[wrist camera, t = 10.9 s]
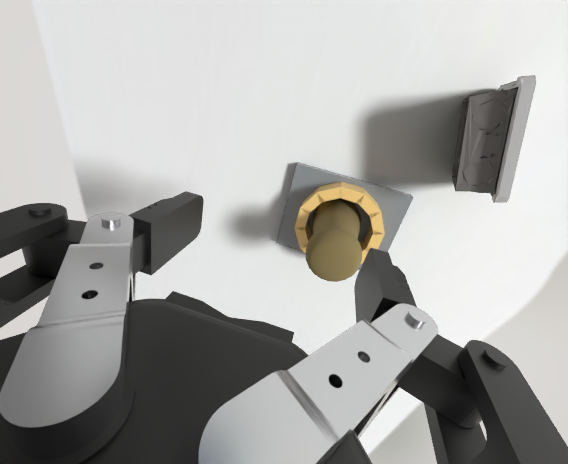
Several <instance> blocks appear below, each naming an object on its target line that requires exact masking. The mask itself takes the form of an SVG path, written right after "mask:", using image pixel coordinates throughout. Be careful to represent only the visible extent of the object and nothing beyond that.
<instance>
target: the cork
mask: <svg viewBox="0 0 568 464" xmlns="http://www.w3.org/2000/svg"><path fill="white" fill-rule="evenodd" d="M360 226H361V216H360V213H359V210H358V209H357V208H356V206H355V205H354V204H353V203H351V202H350V201H348V200H345V199H342V198H338V199H334V200H329V201H324V202H322V203H321V204H320V205H319V206H318V207H317V208H316V210H315V211H314V215H313V236H312V237H311V239H310V240H309V242H308V245H307V248H306V261H307V263H308V266H309V268H310V269H311V270H312V272H313V273H314V274H315V275H317V276H318V277H320V278H321V279H324V280H327V281H336V282H337V281H341V280H345V279H347V278H349V277H351V276H352V275H353V274H354V273H355V272H356V271H357V270H358V268H359V266H360V263H361V261H362V249H361V246H360V243H359V241H358V240H357V239H358V235H359V231H360Z"/></svg>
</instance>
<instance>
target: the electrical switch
mask: <svg viewBox="0 0 568 464" xmlns="http://www.w3.org/2000/svg"><path fill="white" fill-rule="evenodd" d="M535 85H536V77H535V75H533V76H521V77H518V78H517V81H514V82H511V83H508V84H505V85H501V86H500V87H499V89H498V91H493V92H487V93H482V94H476V95H471V96H469V97H467V98H465V99H464V100H465V101H463V104H462V111H461V118H460V125H459V132H458V139H457V146H456V153H455V160H454V167H453V175H454V176H452V178H453V183H454V187H455V191H471V192H478V193H490V194H491V196H492V200H493V202H507V201H508V199H509V197H510V192H511V188H512V184H513V179H514V175H515V171H516V167H517V162H518V158H519V154H520V149H521V145H522V141H523V137H524V132H525V128H526V124H527V119H528V115H529V111H530V107H531V102H532V98H533V94H534V89H535ZM464 122H465V124H464ZM459 161H460V162H459Z"/></svg>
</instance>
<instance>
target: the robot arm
mask: <svg viewBox="0 0 568 464" xmlns="http://www.w3.org/2000/svg"><path fill="white" fill-rule="evenodd" d="M202 211H203V197H202V196H200V195H197V194H193V193H190V192H184V193H181V194H179V195H177V196H175V197H173V198H169V199H163V200H160V201H158V202H156V203H154V205H153V204H152V205H150V206H147V208H146V207H145V208H143V209H141V210H139V211H137V212H135V213H133V214H130V215H125V214H121V213H103V214H98V215H95V216H93V217H91V218H89V219H88V221H87V222H82V221H74V220H68V216H67V210H66V208H65V207H63V206H61V205H57V204H51V203H36V204H29V205H24V206H20V207H17V208H14V209H11V210H8V211H4V212H2V213H0V258H2V257H4V256H6V255H8V254H10V253H12V252H14V251H17V250H19V249H21V248H22V251H23V254H24V258H25V262H26V265H24V266H22V267H20V268H19V269H17V270H15V271H13V272H11V273H9V274H7V275H5V276H3V277H1V278H0V328H1V327H2V326H4V325H5V324H7V323H8V322H10V321H11V320H13V319H14V318H16V317H17V316H19V315H20V314H22V313H23V312H25V311H26V310H28V309H29V308H31V307H32V306H34V305H35V304H37V303H38V302H40V301H41V300H43V299H44V298H46V297H47V296H49V297H48V300H47V302H46V305H45V307H44V310H43V312H42V315H41V317H40V320H39V322H38V324H37V325H36V326H35V327H33V328H31V329H29V330H28V331H27V332H26V333H23V334H19V335H16V336H13V337H9V338H6V339H3V340H0V464H372V463H371V461H370V459H369V457H368V455H367V453H366V452H365V450H364V448H363V446H362V444H361V443H360V441H359V438H360V436H361V435H362V434H363V432H364V431H365V430H366V428H367V427H368V426H369V424H370V423H371V422H372V421H373V419H374V418H375V417H376V416H377V415H378V413H379V412H380V411H381V410H382V409H383V407H384V406H385V405H386V404H387V403H388V401H389V400H390V399H391V398H392V397H393V395H394V394H395V393H396V392H397V391H398V389H399V388H402V389H403V390H405V391H406V392H408V393H409V394H411V395H413V396H414V397H416V398H417V399H419V400H420V401H422V402H423V403H424V405H425V410H426V414H427V419H428V424H429V428H430V433H431V437H432V442H433V446H434V451H435V455H436V460H437V464H568V447H567V445H566V443H565V442H564V440H563V439H562V437H561V435H560V434H559V432H558V431H557V429H556V427H555V426H554V424H553V423H552V421H551V420H550V418H549V416H548V415H547V413H546V412H545V410H544V409H543V407H542V405H541V404H540V402H539V400H538V399H537V397H536V396H535V394H534V393H533V391H532V390H531V388H530V386H529V385H528V383H527V381H526V380H525V378H524V377H523V375H522V373H521V372H520V370H519V369H518V367H517V366H516V365H515V364H514V363H513V361H512V360H510V359H509V358H508V357H507V356H506V355H505V354H504V353H502V352H501V351H499V350H498V349H496V348H495V347H493V346H491V345H489V344H487V343H485V342H482V341H478V340H471V341H469V342H468V343H467V344H466V346H465V347H464V348H462V347H460V346H458V345H456V344H454V343H452V342H451V341H449V340H447V339H445V338H443V337H442V336H440V335H438V334H437V333H438V327H437V325H436V323H435V321H434V320H433V319H432V318H431V317H430V316H429V315H428V314H427V313H425V312H424V311H422V310H421V309H419V308H417V306H416V304H415V301H414V298H413V296H412V293H411V290H410V288H409V285H408V284H407V280H406V277H405V275H404V273H403V272H402V271H401V270H400V269H399V268H398V267H397V266H394V265H392V262H391V259H390V256H389V253H388V252H385V251H381V250H378V249H375V248H370V249H369V251H368V253H367V255H366V258H365V260H364V262H363V264H362V267H361V269H360V271H359V273H358V276H357V279H356V282H355V305H356V322H357V324H355V325H354V326H352V327H351V328H349V329H348V330H346V331H345V332H343V333H342V334H340V335H339V336H337V337H336V338H334V339H333V340H331V341H330V342H329V343H327V344H326V345H324V346H323V347H321V348H320V349H318V350H317V351H315V352H314V353H312V354H311V355H307V354H306V353H305V352H304V351H303V350H302V349H301V348H299V347H298V346H297V345H295V344H293V343H292V339H293V335H294V332H292V331H289V330H286V329H283V328H280V327H277V326H274V325H271V324H268V323H265V322H260V321H253V320H245V319H237V318H230V317H227V316H225V315H224V314H222V313H221V312H219V311H217V310H216V309H214V308H212V307H211V306H209V305H207V304H206V303H204V302H203V301H200V300H197V299H194V298H192V297H189V296H186V295H183V294H180V293H177V292H174V291H173V292H172V293H171V294H170V295H169V296H168V297H167V298H166V299H143V300H136V301H135V288H136V273H137V272H138V271H140V272H143V273H146V274H149V275H152V274H153V273H155V272H156V271H157V270H158V269H159V268H161V267H162V266H163V265H164V264H165V263H167V262H168V261H169V260H170V259H171V258H173V257H174V256H175V255H176V254H177V253H179V252H180V251H181V250H182V249H183V248H185V247H186V246H187V245H188V244H189V243H191V242H192V241H193V240H194V239H195V238H196V237H197V236H198V234H199V232H200V229H201V222H202ZM481 420H482V421H483V423H484V426H485V428H486V434H487V442H486V440H485V437H484V434H483V432H482V429H481V427H480V424H479V422H480V421H481Z"/></svg>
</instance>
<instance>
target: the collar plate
mask: <svg viewBox="0 0 568 464" xmlns="http://www.w3.org/2000/svg"><path fill="white" fill-rule="evenodd" d="M338 198H342V199H345V200H348V201H350V202H351V203H353V204H354V205H355V206H356V208H357V209H358V210H359V213H360V216H361V226H360V231H359V235H358V239H357V240H358V241H359V243H360V246H361V249H362V261H361V263H360V266H359V268H358V269H359V270H360V269H361V267H362V264H363V262H364V260H365V258H366V255H367V253H368V251H369V249H370V248H375V249H378V250H381V251H385V252H388V250H389V248H390V246H391V243H392V241H393V239H394V237H395V235H396V233H397V231H398V229H399V227H400V224H401V222H402V220H403V218H404V216H405V214H406V212H407V210H408V208H409V206H410V203H411V201H412V199H413V196H412V195H410V194H406V193H403V192H400V191H396V190H393V189H389V188H386V187H382V186H379V185H375V184H372V183H368V182H365V181H361V180H358V179H354V178H351V177H347V176H344V175H341V174H337V173H334V172H330V171H327V170H323V169H320V168H316V167H313V166H309V165H306V164H302V163H299V162H298V163H297V165H296V169H295V173H294V177H293V181H292V184H291V188H290V192H289V196H288V200H287V204H286V208H285V211H284V215H283V219H282V223H281V227H280V231H279V235H278V238H277V242H276V243H279V244H282V245H285V246H288V247H291V248H294V249H297V250H301V251H304V252H305V253H306V248H307V245H308V242H309V240H310V239H311V237H312V236H313V215H314V211H315V210H316V208H317V207H318V206H319V205H320V204H321V203H322V202H324V201H329V200H334V199H338Z"/></svg>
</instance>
